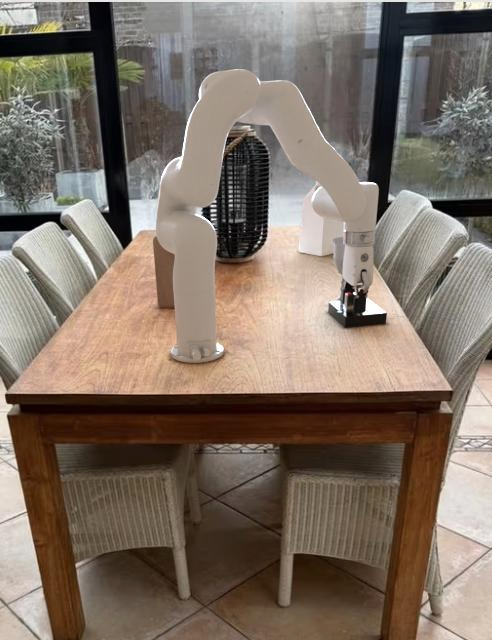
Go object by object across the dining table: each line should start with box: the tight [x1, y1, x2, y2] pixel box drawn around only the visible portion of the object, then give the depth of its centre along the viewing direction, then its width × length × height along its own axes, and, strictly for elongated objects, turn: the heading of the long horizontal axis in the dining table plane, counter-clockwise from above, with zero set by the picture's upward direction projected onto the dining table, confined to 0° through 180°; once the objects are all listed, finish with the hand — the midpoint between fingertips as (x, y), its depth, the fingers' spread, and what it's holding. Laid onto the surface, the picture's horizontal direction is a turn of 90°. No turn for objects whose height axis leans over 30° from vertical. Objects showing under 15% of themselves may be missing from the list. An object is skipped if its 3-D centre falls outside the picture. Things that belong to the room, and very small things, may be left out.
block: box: [152, 235, 175, 309], centre depth 190 cm, size 10×10×20 cm
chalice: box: [333, 237, 345, 301], centre depth 180 cm, size 7×7×18 cm
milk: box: [297, 180, 344, 257], centre depth 239 cm, size 12×12×26 cm
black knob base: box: [327, 297, 388, 329], centre depth 173 cm, size 14×12×3 cm
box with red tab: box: [344, 292, 355, 312], centre depth 169 cm, size 5×2×5 cm, turn 97°
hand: (353, 307), depth 170 cm, fingers open, 7 cm apart
